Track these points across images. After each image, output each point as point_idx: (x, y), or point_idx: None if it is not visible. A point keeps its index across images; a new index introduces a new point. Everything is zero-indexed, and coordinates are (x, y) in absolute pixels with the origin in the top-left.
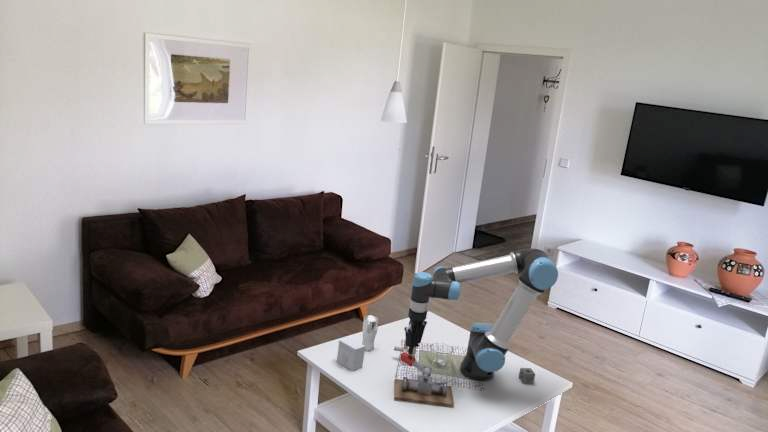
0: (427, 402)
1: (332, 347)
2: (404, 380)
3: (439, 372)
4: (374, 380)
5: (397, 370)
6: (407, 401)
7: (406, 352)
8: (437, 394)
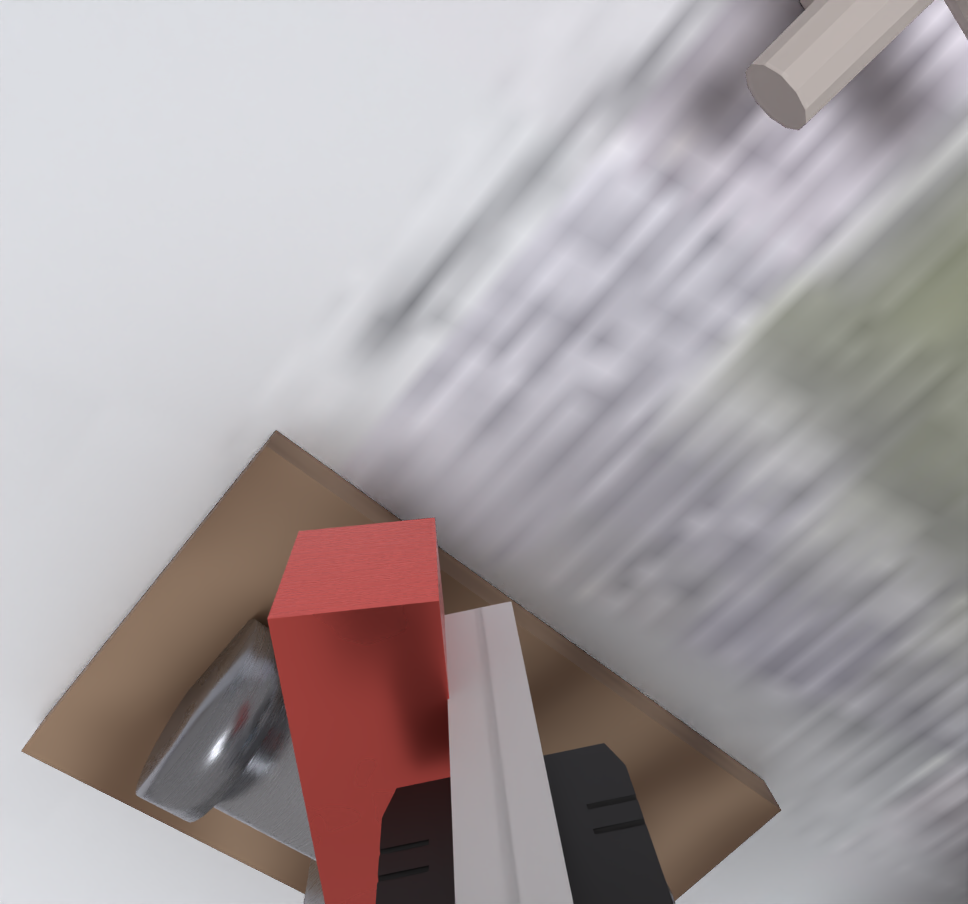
0: None
1: None
2: (154, 804)
3: (949, 502)
4: (8, 272)
5: (509, 206)
6: None
7: (864, 63)
8: None
